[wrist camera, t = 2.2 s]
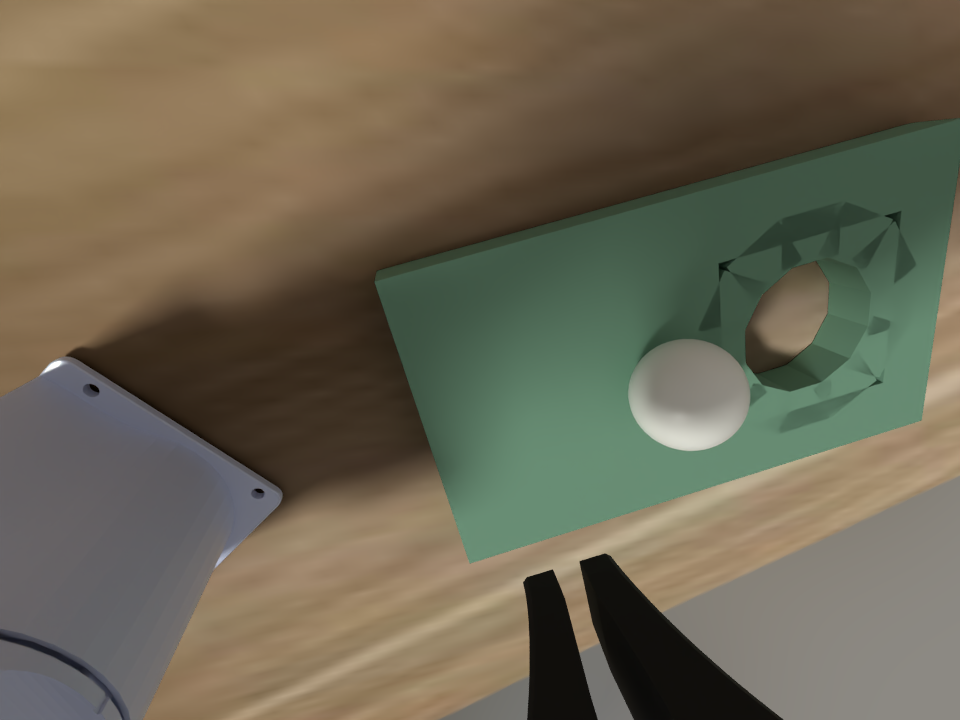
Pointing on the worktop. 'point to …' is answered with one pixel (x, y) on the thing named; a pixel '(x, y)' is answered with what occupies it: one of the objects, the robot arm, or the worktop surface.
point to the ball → (689, 394)
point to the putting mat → (672, 331)
